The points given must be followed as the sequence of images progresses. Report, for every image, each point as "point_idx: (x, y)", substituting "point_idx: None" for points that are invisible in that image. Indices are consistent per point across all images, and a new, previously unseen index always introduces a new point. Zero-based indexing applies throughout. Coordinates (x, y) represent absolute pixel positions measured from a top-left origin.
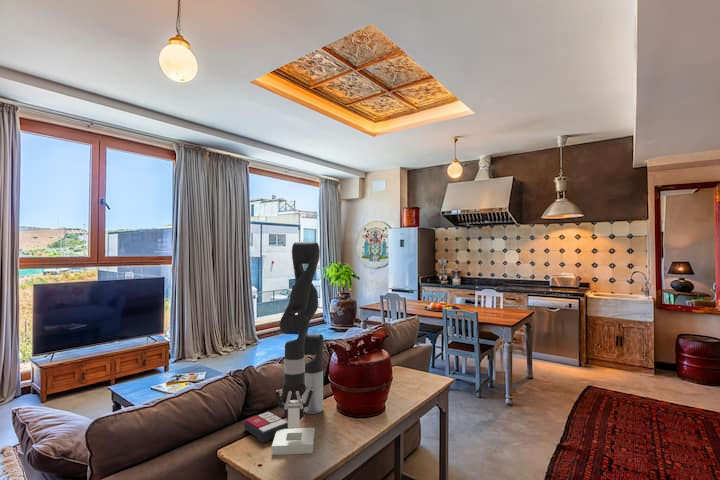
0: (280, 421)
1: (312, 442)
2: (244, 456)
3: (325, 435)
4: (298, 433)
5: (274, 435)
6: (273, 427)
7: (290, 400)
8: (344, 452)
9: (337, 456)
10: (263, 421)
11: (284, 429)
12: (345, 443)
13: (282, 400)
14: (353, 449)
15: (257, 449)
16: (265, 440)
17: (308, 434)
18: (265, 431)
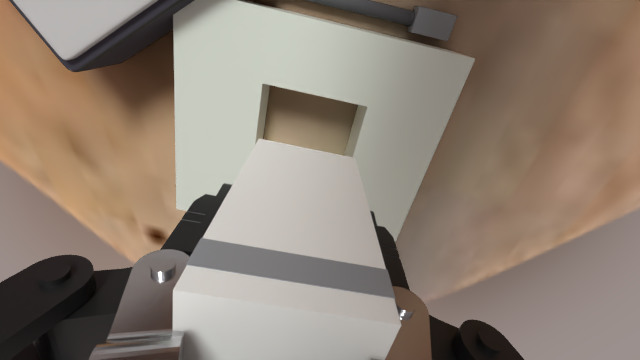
0: None
1: (395, 232)
2: (58, 158)
3: (519, 67)
4: (340, 99)
5: (172, 24)
6: (132, 13)
7: (197, 297)
8: (516, 249)
9: (473, 264)
10: None
11: (237, 13)
12: (567, 187)
13: (15, 349)
14: (565, 240)
15: (105, 111)
16: (123, 59)
17: (400, 146)
18: (82, 54)
